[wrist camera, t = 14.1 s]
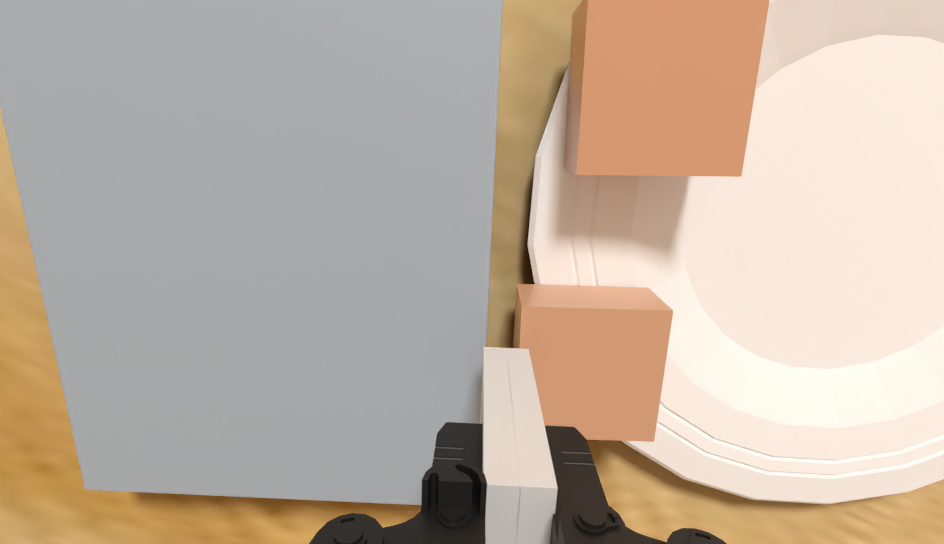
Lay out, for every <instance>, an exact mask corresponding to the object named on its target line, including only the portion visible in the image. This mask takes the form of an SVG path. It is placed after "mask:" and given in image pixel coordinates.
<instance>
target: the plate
mask: <svg viewBox="0 0 944 544" xmlns="http://www.w3.org/2000/svg"><path fill="white" fill-rule="evenodd" d="M569 70H570V62H569V63H568V66H567V69H566V72H565V74H564V77H563V80H562V83H561V86H560V88H559V91H558V94H557V97H556V100H555V102H554V105H553V108H552V111H551V114H550V116H549V119H548V122H547V125H546V128H545V131H544V133H543V136H542V139H541V142H540V145H539V147H538V150H537V153H536V156H535V166H534V177H533V188H532V199H531V210H530V221H529V232H528V250H529V256H530V261H531V267H532V272H533V278H534V283H535V284H541V285H576V286H611V287H646V288H649V289H650V290H651V291H653V292H654V293H655V294H656V295H657V296H658V297H659V298H660V299H661V300H662V301H663V302H664V303H666V304H667V305H668V306H669V307H670V308H671V309H672V310H673V317H672V324H671V330H670V337H669V344H668V351H667V357H666V364H665V371H664V378H663V384H662V391H661V398H660V405H659V411H658V418H657V425H656V432H655V438H654V442H647V441H622V442H623V443H625V444H626V445H628V446H630V447H631V448H633V449H635V450H636V451H638V452H640V453H641V454H643V455H644V456H646V457H648V458H649V459H651V460H653V461H654V462H656V463H658V464H659V465H661V466H663V467H664V468H666V469H667V470H669V471H671V472H672V473H674V474H676V475H677V476H679V477H681V478H682V479H685V480H688V481H691V482H695V483H698V484H701V485H704V486H708V487H711V488H714V489H718V490H721V491H724V492H728V493H731V494H734V495H738V496H741V497H744V498H748V499H751V500H763V501H779V502H795V503H811V504H826V505H827V504H834V503H840V502H847V501H854V500H861V499H867V498H874V497H881V496H888V495H895V494H901V493H906V492H909V491H912V490H915V489H918V488H920V487H923V486H926V485H929V484H932V483H935V482H937V481H940V480H943V479H944V0H770V1H769V7H768V13H767V20H766V26H765V32H764V38H763V45H762V51H761V57H760V63H759V70H758V76H757V82H756V88H755V95H754V101H753V107H752V113H751V120H750V126H749V132H748V139H747V145H746V151H745V157H744V164H743V170H742V176H741V177H731V176H631V175H575V174H573V173H571V172H569V171H567V170H565V169H564V155H565V138H566V121H567V104H568V87H569Z"/></svg>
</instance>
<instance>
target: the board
mask: <svg viewBox="0 0 944 544" xmlns="http://www.w3.org/2000/svg"><path fill="white" fill-rule="evenodd" d="M502 2H503V0H0V108H1V112H2V117H3V121H4V126H5V130H6V135H7V140H8V144H9V149H10V153H11V158H12V162H13V167H14V171H15V176H16V180H17V185H18V189H19V194H20V198H21V203H22V207H23V212H24V216H25V221H26V225H27V230H28V234H29V239H30V243H31V248H32V252H33V257H34V261H35V266H36V270H37V275H38V279H39V284H40V288H41V293H42V297H43V302H44V306H45V311H46V315H47V320H48V324H49V329H50V333H51V338H52V342H53V347H54V351H55V356H56V360H57V365H58V369H59V374H60V378H61V383H62V387H63V392H64V396H65V401H66V405H67V410H68V414H69V419H70V423H71V428H72V432H73V437H74V441H75V446H76V450H77V455H78V459H79V464H80V468H81V473H82V477H83V482H84V486H85V490H105V491H126V492H148V493H169V494H191V495H212V496H234V497H255V498H277V499H298V500H320V501H341V502H363V503H384V504H406V505H422V479H423V476H424V474H425V472H426V471H427V470H428V469H430V468H431V467H432V463H433V457H434V450H435V444H436V437H437V433H438V431H439V430H440V429H441V428H442V427H443V426H444V424H445V423H446V422H456V423H477V424H480V410H481V389H482V369H483V349H484V347H486V335H487V314H488V294H489V273H490V252H491V231H492V210H493V190H494V169H495V148H496V127H497V106H498V86H499V65H500V44H501V23H502Z"/></svg>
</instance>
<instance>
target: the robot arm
mask: <svg viewBox="0 0 944 544" xmlns="http://www.w3.org/2000/svg"><path fill="white" fill-rule="evenodd" d="M309 544H726V543H725V542H724V541H723V540H721V539H719V538H718V537H716V536H714V535H712V534H710V533H708V532H705V531H701V530H698V529H691V528H682V529H679V530H677V531H674V532H672V534H671V535H670V537H669V538H668V540H667V542H663V541H660V540H657V539H653V538H650V537H647V536H644V535H641V534H639V533H636V532H634V531H632V530H631V529H629V528H627V527H626V526H625V524H624V522H623V520H622V519H621V517H620V515H619V514H618V513H617V512H616V511H615V510H613V509H612V508H611V507H610V506H608V503H607V500H606V497H605V494H604V491H603V488H602V485H601V482H600V479H599V477H598V474H597V471H596V468H595V465H594V462H593V459H592V456H591V454H590V450H589V447H588V444H587V441H586V438H585V437H584V436H583V435H582V434H581V433H580V432H579V431H578V430H577V429H576V428H575V427H568V426H547V425H544V420H543V415H542V411H541V406H540V401H539V396H538V391H537V387H536V382H535V377H534V372H533V367H532V363H531V358H530V353H529V349H521V348H499V347H484V349H483V369H482V389H481V410H480V424H477V423H456V422H446V423H445V424H444V426H443V427H442V428H441V429H440V430H439V431H438V433H437V437H436V444H435V450H434V457H433V463H432V467H431V468H430V469H428V470H427V471H426V472H425V474H424V476H423V479H422V507H421V511H420V512H419V513H418V514H417V515H416V516H415V517H414V518H412V519H410V520H408V521H406V522H404V523H401V524H398V525H394V526H390V527H385V528H382V526H381V525H380V524H379V523H378V522H377V521H376V519H374V518H372V517H370V516H368V515H365V514H355V513H351V514H347V515H342V516H339V517H337V518H335V519H333V520H331V521H329V522H327V523H326V524H325V525H324V526H323V527H322V528H321V529H320V530H319V531H318V532H317V534H316V535H315V536H314V538H313V539H312V541H311V542H310V543H309Z"/></svg>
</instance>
